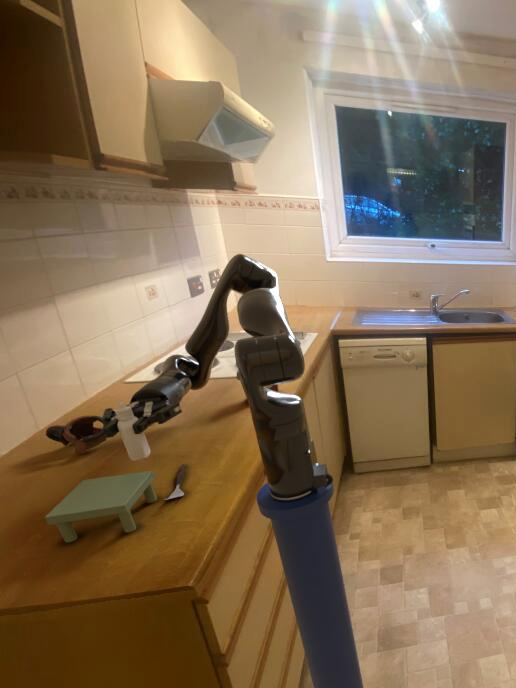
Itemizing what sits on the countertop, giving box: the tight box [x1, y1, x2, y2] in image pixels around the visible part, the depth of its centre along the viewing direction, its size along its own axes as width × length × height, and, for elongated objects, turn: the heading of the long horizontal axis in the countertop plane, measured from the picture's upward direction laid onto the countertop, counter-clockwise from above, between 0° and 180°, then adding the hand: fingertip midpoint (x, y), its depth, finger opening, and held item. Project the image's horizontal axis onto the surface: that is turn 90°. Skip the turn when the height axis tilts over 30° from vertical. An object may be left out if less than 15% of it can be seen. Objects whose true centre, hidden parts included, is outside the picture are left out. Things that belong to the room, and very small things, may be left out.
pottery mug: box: [45, 415, 109, 455], centre depth 102 cm, size 12×10×8 cm
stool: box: [44, 470, 158, 544], centre depth 79 cm, size 11×11×6 cm
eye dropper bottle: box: [114, 401, 151, 462], centre depth 88 cm, size 4×6×12 cm
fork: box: [163, 463, 185, 501], centre depth 89 cm, size 3×16×2 cm, turn 29°
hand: (122, 431), depth 85 cm, fingers closed on eye dropper bottle, 4 cm apart
